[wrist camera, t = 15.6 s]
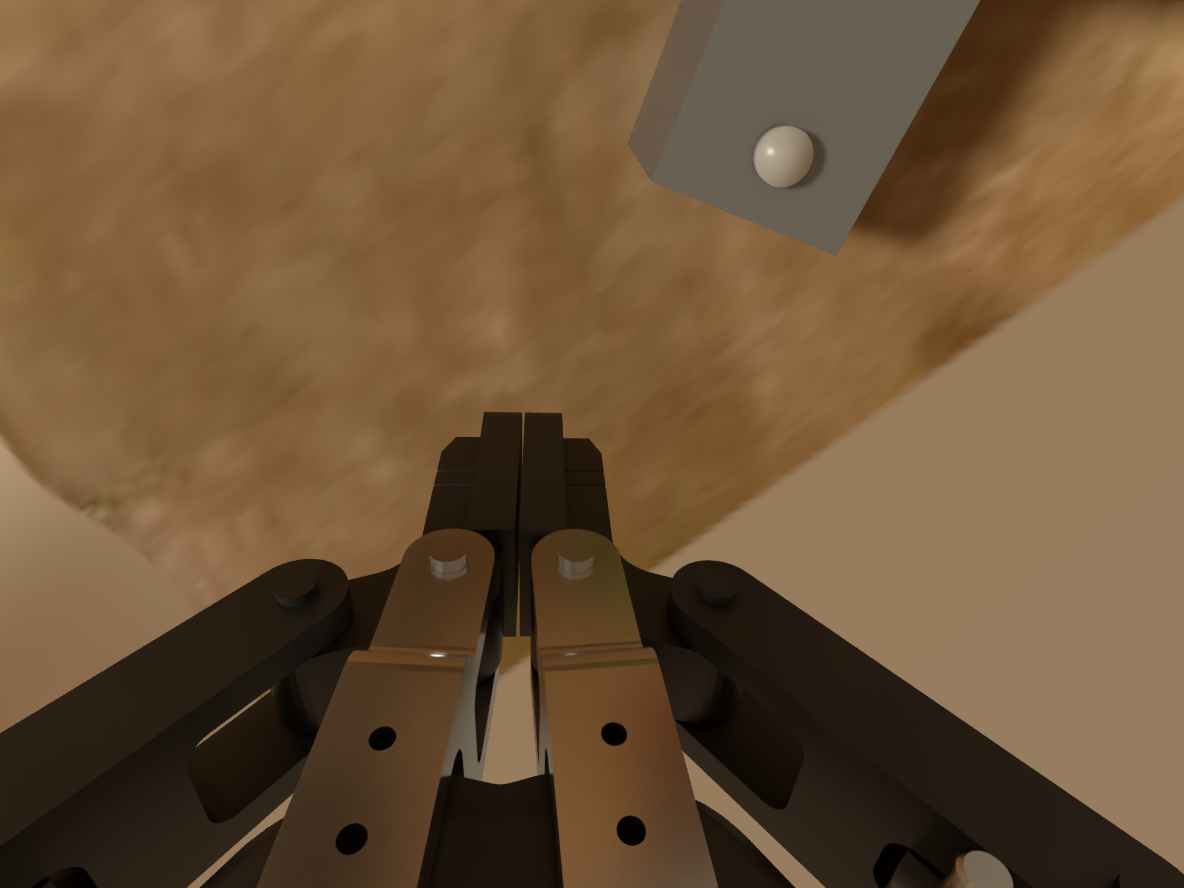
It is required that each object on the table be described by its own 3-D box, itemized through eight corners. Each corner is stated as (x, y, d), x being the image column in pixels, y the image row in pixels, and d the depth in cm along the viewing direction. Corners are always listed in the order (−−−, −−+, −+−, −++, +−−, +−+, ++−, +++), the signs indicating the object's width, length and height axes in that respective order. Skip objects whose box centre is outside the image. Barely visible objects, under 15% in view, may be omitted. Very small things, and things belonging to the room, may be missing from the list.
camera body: (770, -233, 26) (874, -350, 18) (942, -133, 28) (1108, -196, 20) (627, 143, 33) (654, 185, 25) (774, 204, 35) (845, 262, 26)
